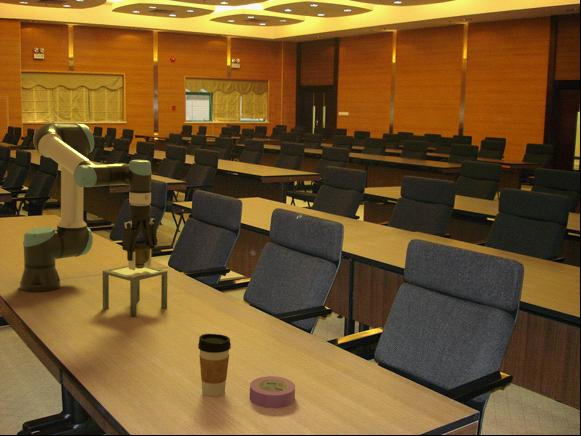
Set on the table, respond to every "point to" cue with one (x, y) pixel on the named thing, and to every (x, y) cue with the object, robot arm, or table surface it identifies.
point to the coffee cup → (214, 363)
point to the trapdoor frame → (134, 287)
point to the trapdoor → (134, 271)
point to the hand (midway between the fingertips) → (140, 267)
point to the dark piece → (141, 255)
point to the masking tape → (272, 392)
